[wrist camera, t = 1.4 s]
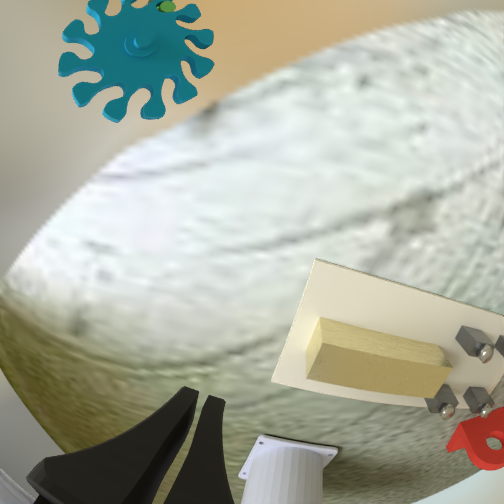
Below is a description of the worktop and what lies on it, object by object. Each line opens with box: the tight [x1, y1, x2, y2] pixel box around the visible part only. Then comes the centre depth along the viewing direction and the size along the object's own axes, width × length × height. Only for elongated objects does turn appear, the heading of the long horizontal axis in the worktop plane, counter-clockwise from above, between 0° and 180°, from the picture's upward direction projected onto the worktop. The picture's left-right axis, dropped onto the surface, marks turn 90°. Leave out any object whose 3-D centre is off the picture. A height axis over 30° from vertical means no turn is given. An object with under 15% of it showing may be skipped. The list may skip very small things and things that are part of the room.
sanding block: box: [306, 317, 453, 398], centre depth 16 cm, size 3×10×3 cm, turn 76°
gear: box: [58, 0, 214, 123], centre depth 14 cm, size 11×6×10 cm
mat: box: [271, 259, 504, 409], centre depth 18 cm, size 10×23×1 cm, turn 76°
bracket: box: [446, 407, 504, 470], centre depth 15 cm, size 12×4×8 cm, turn 94°
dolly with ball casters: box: [424, 325, 504, 420], centre depth 15 cm, size 7×8×3 cm
